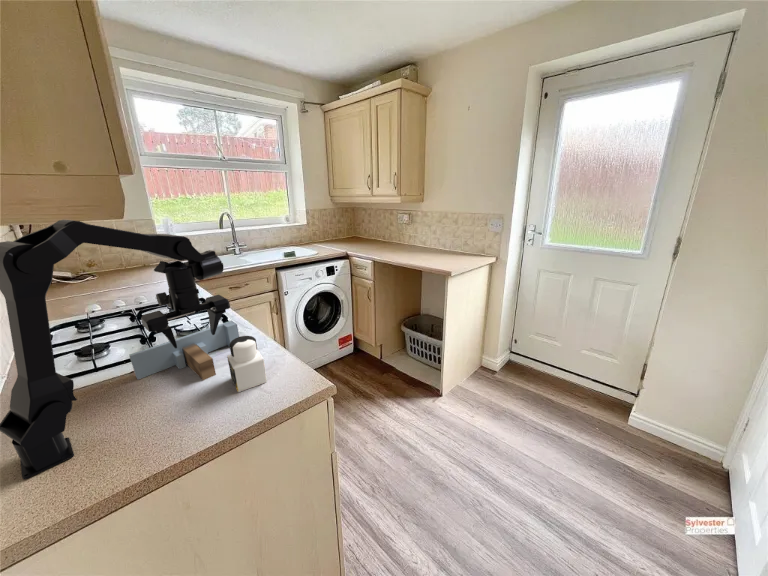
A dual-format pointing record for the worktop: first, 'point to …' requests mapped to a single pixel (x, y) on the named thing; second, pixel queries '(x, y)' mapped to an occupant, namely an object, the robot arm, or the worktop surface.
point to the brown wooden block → (199, 361)
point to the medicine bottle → (246, 363)
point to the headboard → (169, 356)
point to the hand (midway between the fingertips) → (195, 340)
